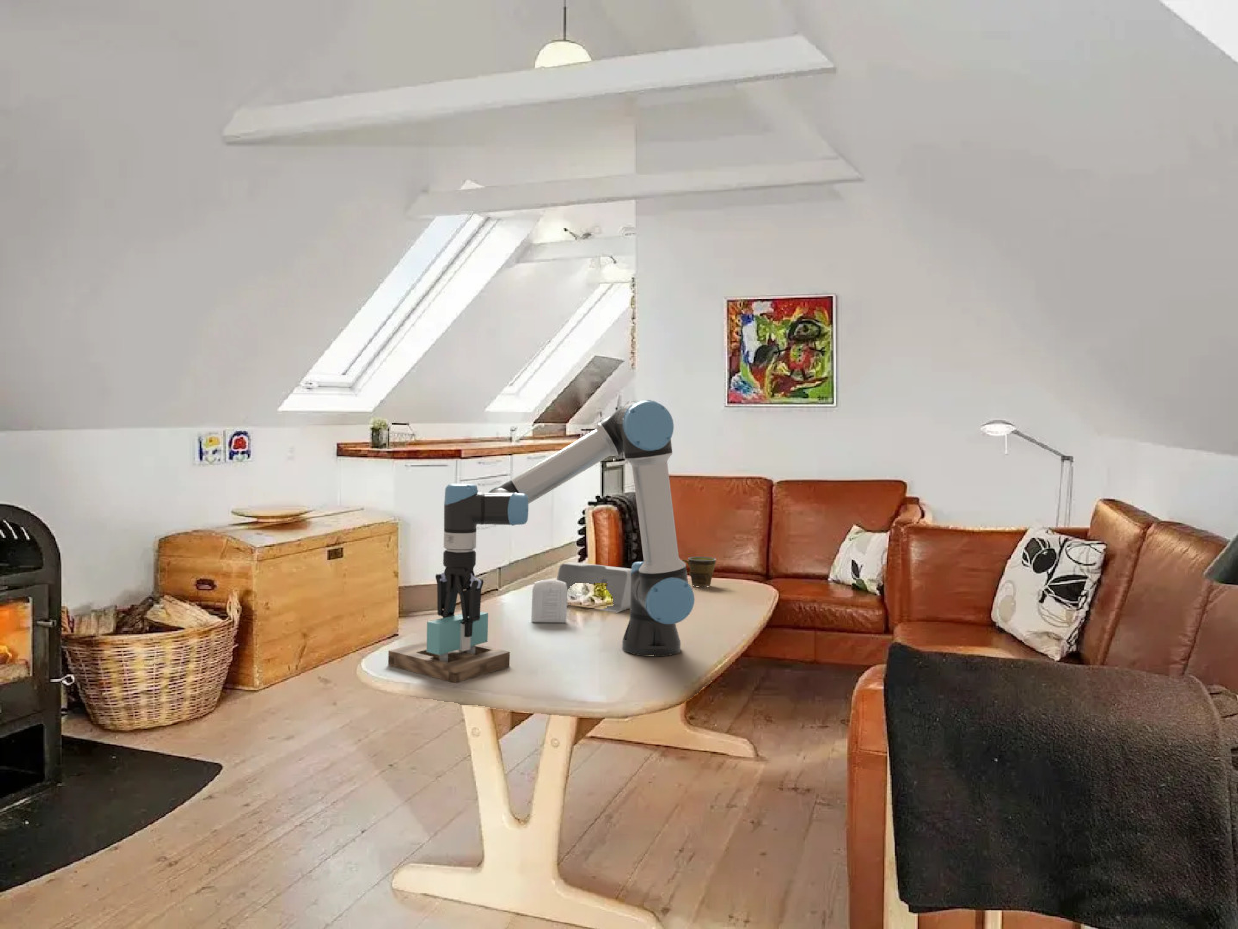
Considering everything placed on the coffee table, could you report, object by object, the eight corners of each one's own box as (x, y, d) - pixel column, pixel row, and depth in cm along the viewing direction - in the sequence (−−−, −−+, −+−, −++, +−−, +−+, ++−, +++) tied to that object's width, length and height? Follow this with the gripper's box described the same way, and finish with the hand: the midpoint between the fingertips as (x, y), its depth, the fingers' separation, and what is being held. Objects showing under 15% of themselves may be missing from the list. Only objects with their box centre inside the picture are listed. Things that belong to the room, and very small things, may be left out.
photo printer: (566, 620, 268) (567, 578, 267) (567, 623, 263) (568, 581, 263) (531, 620, 266) (532, 578, 266) (531, 623, 262) (532, 581, 261)
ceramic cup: (715, 584, 334) (716, 557, 333) (714, 589, 324) (715, 561, 323) (680, 582, 335) (680, 555, 335) (678, 587, 325) (679, 559, 325)
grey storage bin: (643, 604, 294) (644, 566, 293) (620, 613, 280) (621, 573, 279) (577, 595, 305) (578, 559, 305) (551, 603, 291) (552, 564, 291)
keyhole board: (509, 666, 216) (509, 651, 216) (455, 683, 202) (455, 667, 202) (443, 650, 229) (444, 636, 229) (388, 665, 214) (388, 650, 214)
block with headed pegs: (487, 661, 219) (488, 613, 219) (438, 675, 206) (439, 624, 205) (474, 658, 221) (475, 610, 221) (426, 672, 208) (427, 621, 208)
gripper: (422, 547, 214) (420, 645, 215) (475, 555, 204) (473, 658, 206) (445, 544, 220) (443, 639, 221) (497, 551, 211) (495, 651, 212)
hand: (457, 648), depth 214 cm, fingers closed on block with headed pegs, 4 cm apart
